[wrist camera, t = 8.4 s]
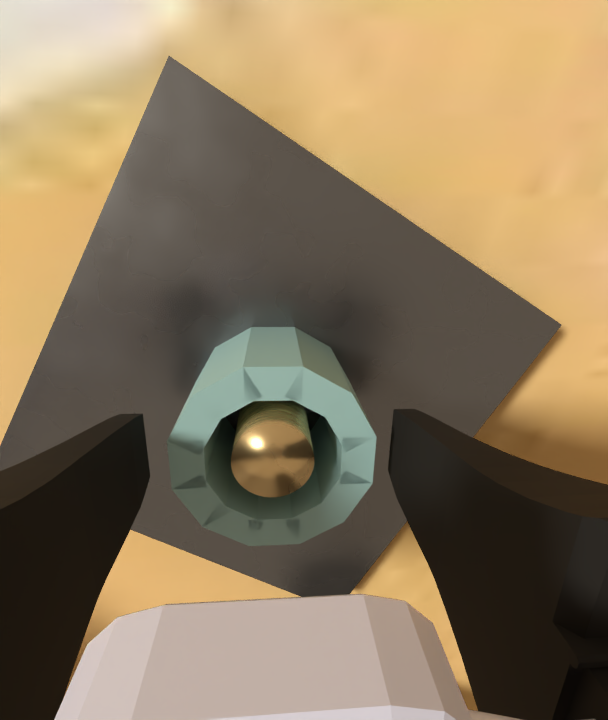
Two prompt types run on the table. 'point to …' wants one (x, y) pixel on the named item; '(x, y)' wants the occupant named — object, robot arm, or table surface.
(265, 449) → the hub plate
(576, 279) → the table surface
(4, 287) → the table surface
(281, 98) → the table surface
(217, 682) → the robot arm
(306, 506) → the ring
